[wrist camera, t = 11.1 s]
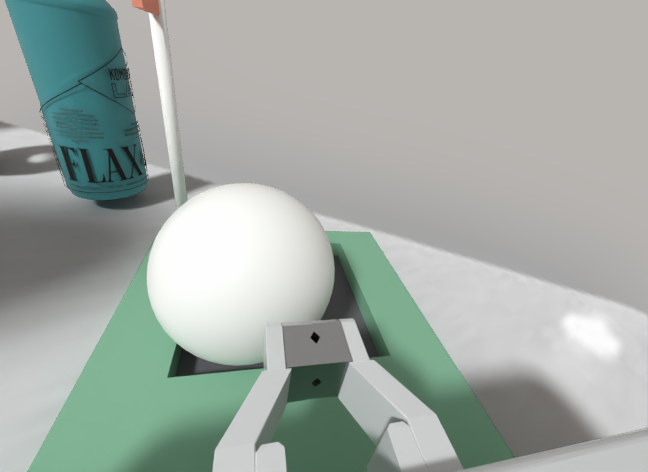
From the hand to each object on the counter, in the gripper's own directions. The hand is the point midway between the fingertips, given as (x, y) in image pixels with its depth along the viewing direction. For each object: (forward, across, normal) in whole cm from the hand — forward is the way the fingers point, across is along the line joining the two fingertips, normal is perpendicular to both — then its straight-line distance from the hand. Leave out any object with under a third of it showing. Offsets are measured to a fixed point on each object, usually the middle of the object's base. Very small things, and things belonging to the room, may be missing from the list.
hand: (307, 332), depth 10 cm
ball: (+6, -2, -2) cm, 6 cm away
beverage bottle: (+23, -15, -7) cm, 28 cm away
